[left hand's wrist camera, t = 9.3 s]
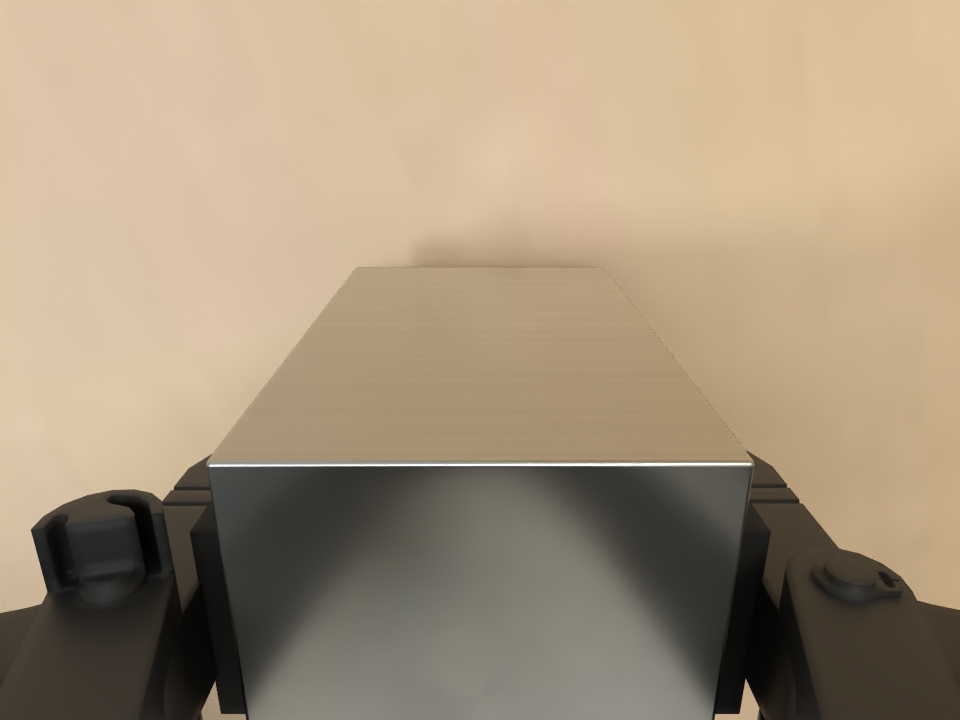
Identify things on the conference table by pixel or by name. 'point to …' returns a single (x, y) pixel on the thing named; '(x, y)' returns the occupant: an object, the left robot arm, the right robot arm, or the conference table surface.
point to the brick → (480, 509)
